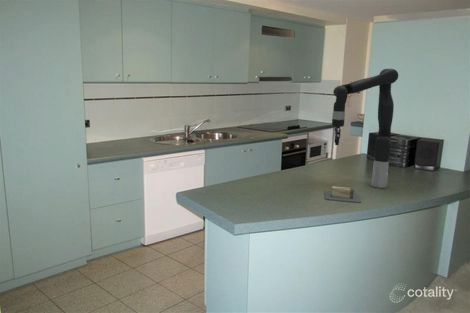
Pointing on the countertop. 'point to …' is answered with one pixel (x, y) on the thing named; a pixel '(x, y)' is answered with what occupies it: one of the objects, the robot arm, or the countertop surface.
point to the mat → (355, 198)
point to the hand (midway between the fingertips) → (336, 143)
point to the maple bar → (342, 192)
